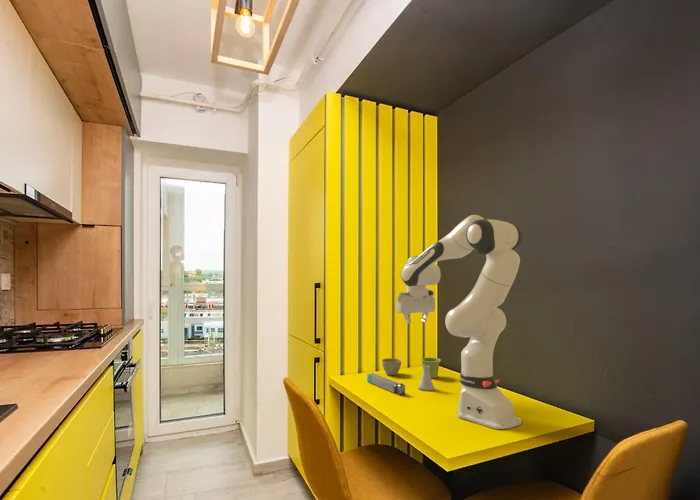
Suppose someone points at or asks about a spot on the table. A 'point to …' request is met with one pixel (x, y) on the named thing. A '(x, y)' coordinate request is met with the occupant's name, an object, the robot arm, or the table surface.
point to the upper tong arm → (382, 383)
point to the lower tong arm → (385, 378)
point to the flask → (426, 380)
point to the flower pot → (391, 365)
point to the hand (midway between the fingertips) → (416, 322)
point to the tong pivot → (401, 389)
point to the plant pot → (432, 366)
